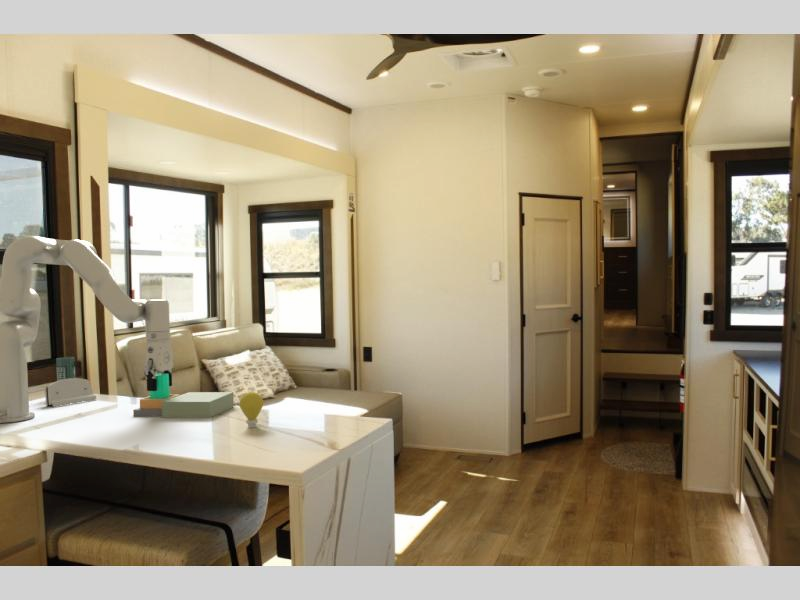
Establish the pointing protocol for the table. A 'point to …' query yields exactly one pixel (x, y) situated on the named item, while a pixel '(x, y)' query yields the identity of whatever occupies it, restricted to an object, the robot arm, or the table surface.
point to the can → (65, 368)
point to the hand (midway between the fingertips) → (159, 388)
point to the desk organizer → (186, 405)
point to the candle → (161, 387)
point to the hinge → (68, 392)
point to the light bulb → (251, 407)
